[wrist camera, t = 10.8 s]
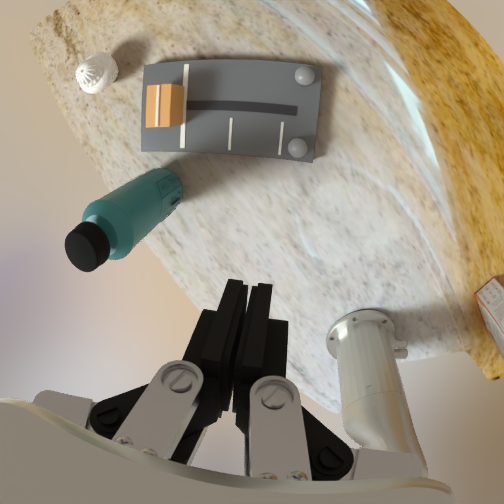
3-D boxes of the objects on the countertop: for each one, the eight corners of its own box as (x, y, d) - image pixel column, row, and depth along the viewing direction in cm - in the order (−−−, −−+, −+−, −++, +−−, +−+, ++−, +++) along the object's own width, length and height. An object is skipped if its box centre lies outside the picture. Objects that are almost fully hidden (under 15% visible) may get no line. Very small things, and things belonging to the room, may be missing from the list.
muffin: (134, 63, 29) (106, 58, 23) (113, 99, 32) (83, 101, 26) (107, 49, 28) (77, 44, 22) (88, 84, 31) (57, 84, 25)
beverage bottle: (146, 162, 36) (45, 213, 18) (190, 166, 36) (102, 221, 18) (147, 206, 39) (59, 278, 22) (188, 211, 39) (114, 294, 21)
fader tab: (184, 86, 28) (170, 83, 25) (182, 125, 31) (168, 127, 27) (162, 87, 29) (146, 85, 25) (160, 125, 31) (144, 127, 27)
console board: (320, 69, 28) (324, 64, 24) (311, 160, 33) (313, 165, 30) (151, 66, 29) (138, 63, 26) (148, 149, 35) (135, 153, 32)
